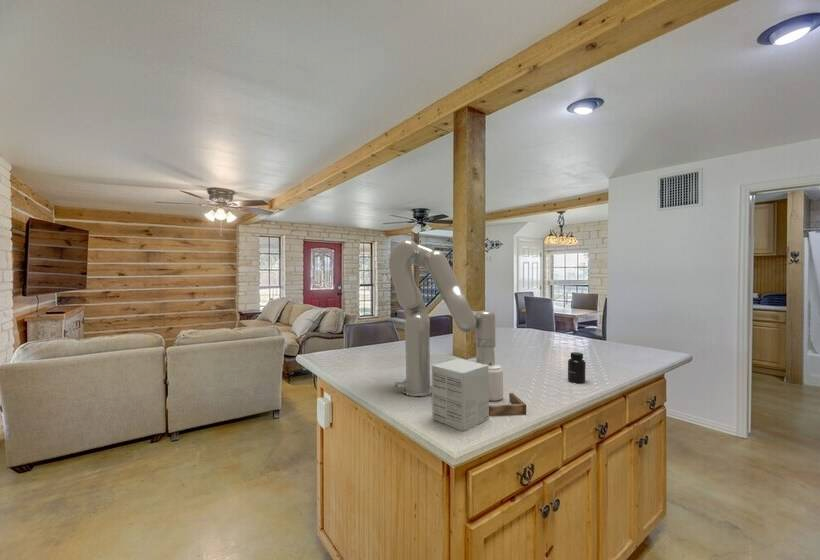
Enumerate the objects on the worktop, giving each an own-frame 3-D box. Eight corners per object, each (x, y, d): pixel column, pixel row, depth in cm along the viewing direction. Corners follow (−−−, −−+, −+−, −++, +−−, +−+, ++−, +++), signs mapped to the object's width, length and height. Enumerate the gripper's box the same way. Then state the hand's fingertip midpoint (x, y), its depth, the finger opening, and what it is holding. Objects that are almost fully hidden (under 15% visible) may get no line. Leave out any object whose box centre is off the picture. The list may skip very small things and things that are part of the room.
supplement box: (457, 408, 126) (457, 358, 125) (489, 419, 116) (489, 364, 116) (431, 419, 117) (430, 365, 116) (463, 432, 107) (463, 373, 107)
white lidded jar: (505, 401, 131) (505, 368, 131) (483, 402, 131) (483, 369, 131) (499, 394, 140) (499, 362, 139) (478, 394, 139) (478, 363, 139)
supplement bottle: (568, 382, 152) (567, 354, 152) (567, 378, 158) (567, 351, 158) (586, 384, 149) (586, 355, 149) (585, 379, 156) (584, 352, 156)
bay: (486, 416, 118) (486, 407, 118) (476, 402, 130) (476, 394, 130) (526, 414, 120) (526, 405, 120) (512, 401, 132) (512, 392, 132)
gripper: (470, 339, 148) (471, 384, 149) (481, 346, 133) (482, 396, 134) (488, 338, 149) (489, 383, 149) (501, 346, 134) (502, 395, 134)
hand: (486, 389), depth 142 cm, fingers closed
